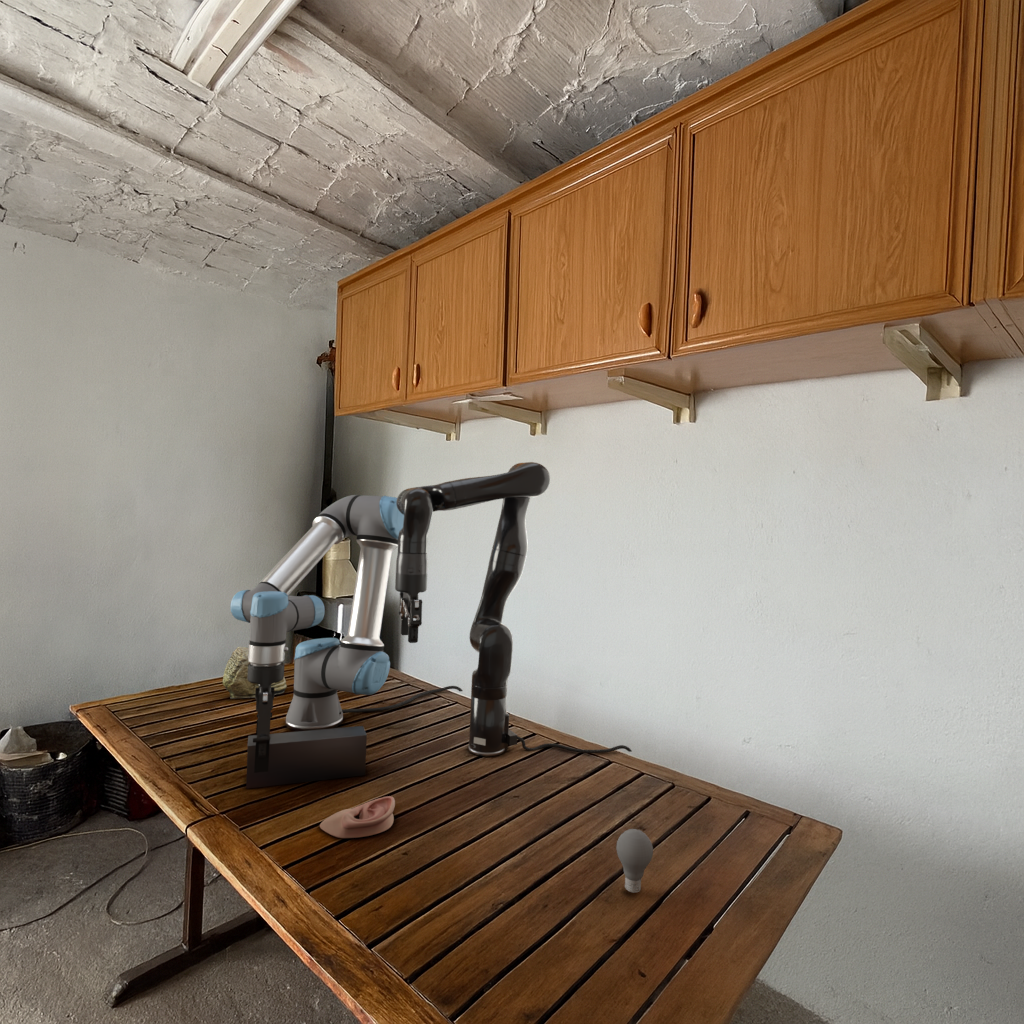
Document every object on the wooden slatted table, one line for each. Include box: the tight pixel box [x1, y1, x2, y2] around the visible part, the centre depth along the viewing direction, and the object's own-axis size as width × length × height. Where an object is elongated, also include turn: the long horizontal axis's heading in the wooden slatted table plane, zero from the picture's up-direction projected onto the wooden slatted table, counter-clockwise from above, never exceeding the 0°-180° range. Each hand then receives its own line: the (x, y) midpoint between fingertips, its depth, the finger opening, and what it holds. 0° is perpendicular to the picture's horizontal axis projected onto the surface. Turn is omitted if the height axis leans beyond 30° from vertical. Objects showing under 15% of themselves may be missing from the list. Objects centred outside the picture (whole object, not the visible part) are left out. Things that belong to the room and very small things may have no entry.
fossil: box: [222, 646, 288, 699], centre depth 198 cm, size 9×18×15 cm, turn 132°
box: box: [245, 725, 368, 790], centre depth 143 cm, size 25×6×9 cm, turn 111°
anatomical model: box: [319, 795, 396, 839], centre depth 123 cm, size 13×4×12 cm
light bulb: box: [615, 828, 654, 894], centre depth 106 cm, size 6×6×10 cm
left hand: (261, 759), depth 139 cm, fingers open, 13 cm apart
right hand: (408, 638), depth 152 cm, fingers open, 8 cm apart
